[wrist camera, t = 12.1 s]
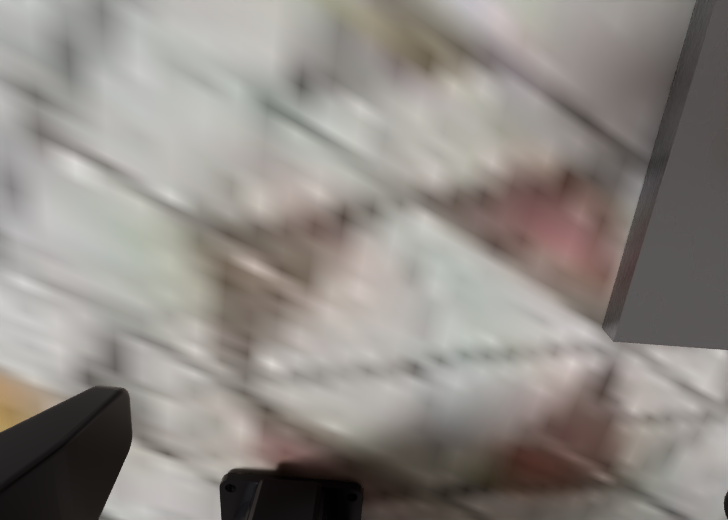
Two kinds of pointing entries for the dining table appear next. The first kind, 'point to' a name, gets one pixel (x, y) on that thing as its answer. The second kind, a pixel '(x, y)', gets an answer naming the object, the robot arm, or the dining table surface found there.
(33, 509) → the robot arm
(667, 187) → the hub plate
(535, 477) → the dining table surface
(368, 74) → the dining table surface
